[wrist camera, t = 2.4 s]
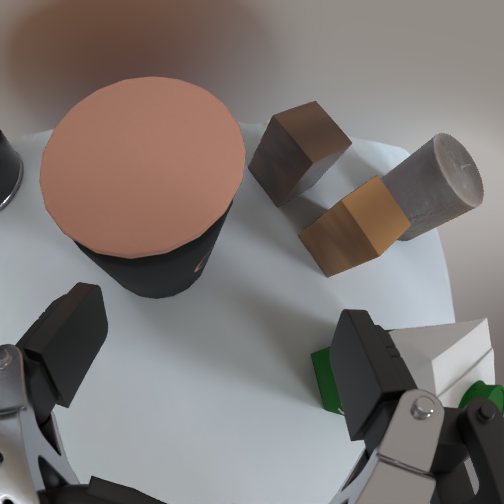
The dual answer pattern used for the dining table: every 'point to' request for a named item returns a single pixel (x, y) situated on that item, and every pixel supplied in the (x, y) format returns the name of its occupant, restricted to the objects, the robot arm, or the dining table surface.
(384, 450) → the robot arm
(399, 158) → the dining table surface
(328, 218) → the oak block
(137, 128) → the coffee jar
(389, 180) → the pillar candle
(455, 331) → the milk carton
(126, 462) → the dining table surface
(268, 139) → the walnut block
